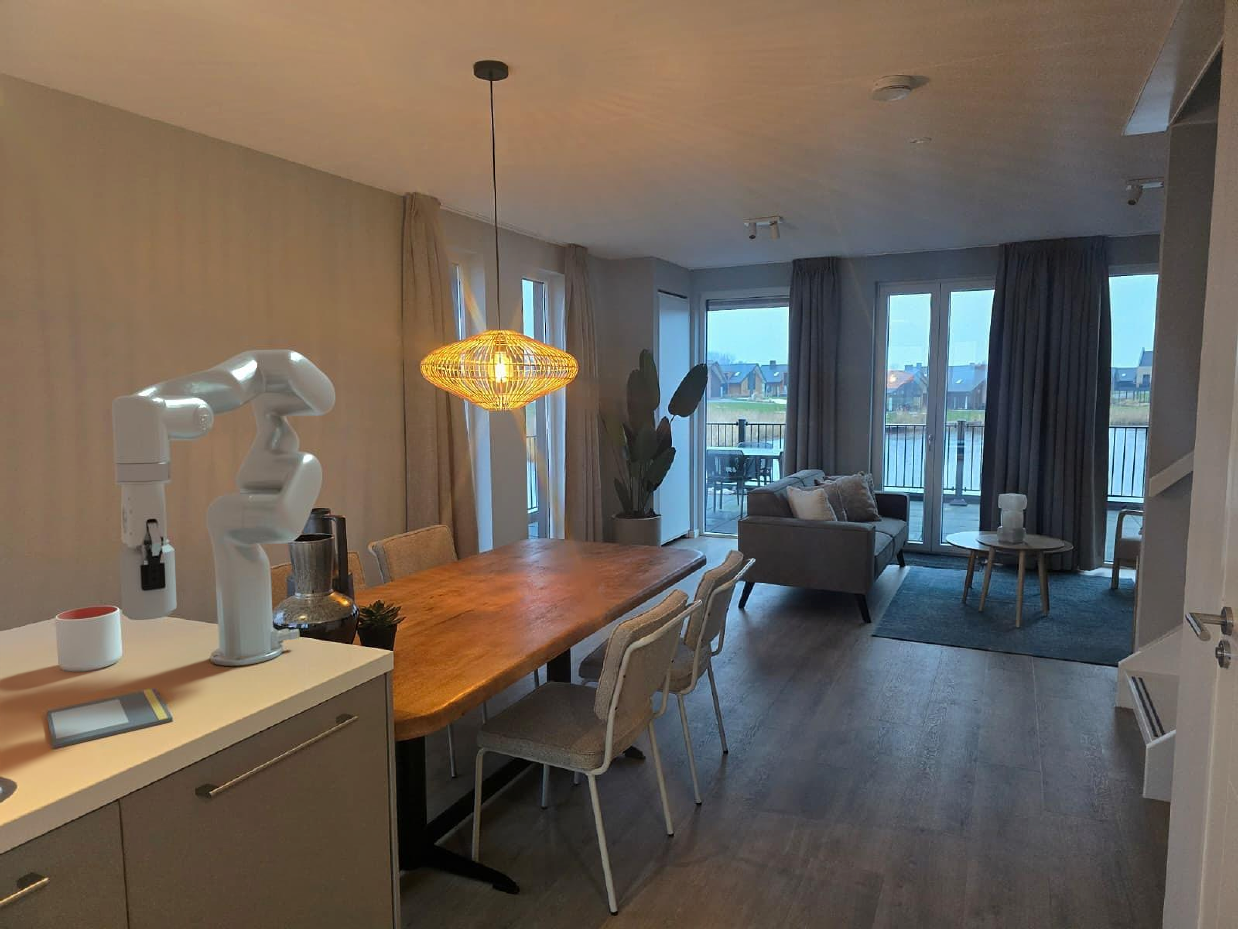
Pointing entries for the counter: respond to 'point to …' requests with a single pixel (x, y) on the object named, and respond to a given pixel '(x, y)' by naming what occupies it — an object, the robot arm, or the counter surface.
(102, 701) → the mat
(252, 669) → the counter surface
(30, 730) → the counter surface
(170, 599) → the can
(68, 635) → the cup
